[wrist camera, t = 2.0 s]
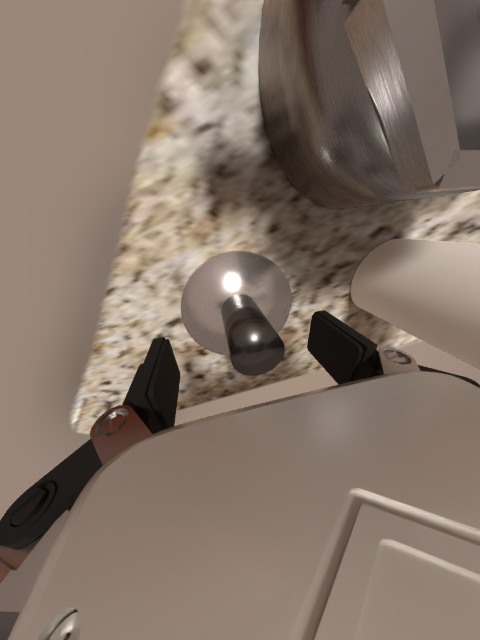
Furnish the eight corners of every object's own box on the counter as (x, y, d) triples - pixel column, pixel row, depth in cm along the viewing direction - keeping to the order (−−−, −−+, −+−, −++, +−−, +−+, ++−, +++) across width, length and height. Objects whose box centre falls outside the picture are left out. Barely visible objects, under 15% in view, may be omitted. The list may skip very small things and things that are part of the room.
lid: (290, 244, 14) (356, 258, 8) (283, 340, 19) (321, 393, 13) (168, 256, 13) (138, 283, 7) (194, 355, 18) (190, 423, 12)
